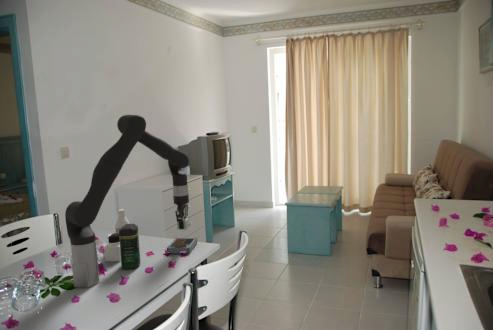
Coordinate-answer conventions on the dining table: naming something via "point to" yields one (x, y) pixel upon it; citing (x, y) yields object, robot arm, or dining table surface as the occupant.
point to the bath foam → (121, 220)
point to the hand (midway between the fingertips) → (183, 227)
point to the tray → (176, 250)
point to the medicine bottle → (113, 248)
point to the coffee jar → (129, 246)
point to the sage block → (186, 224)
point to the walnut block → (180, 243)
